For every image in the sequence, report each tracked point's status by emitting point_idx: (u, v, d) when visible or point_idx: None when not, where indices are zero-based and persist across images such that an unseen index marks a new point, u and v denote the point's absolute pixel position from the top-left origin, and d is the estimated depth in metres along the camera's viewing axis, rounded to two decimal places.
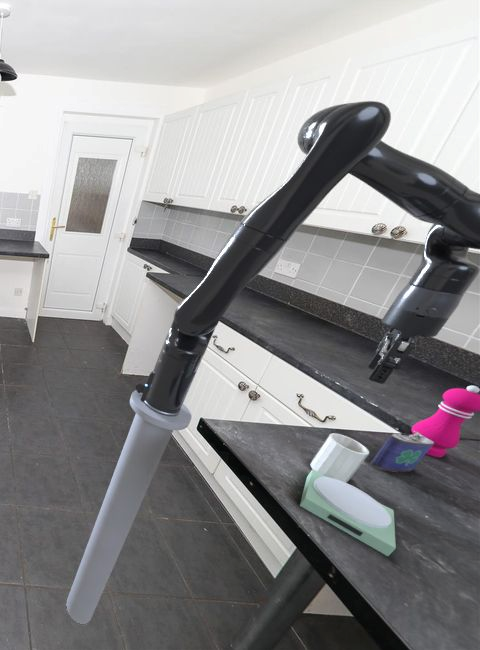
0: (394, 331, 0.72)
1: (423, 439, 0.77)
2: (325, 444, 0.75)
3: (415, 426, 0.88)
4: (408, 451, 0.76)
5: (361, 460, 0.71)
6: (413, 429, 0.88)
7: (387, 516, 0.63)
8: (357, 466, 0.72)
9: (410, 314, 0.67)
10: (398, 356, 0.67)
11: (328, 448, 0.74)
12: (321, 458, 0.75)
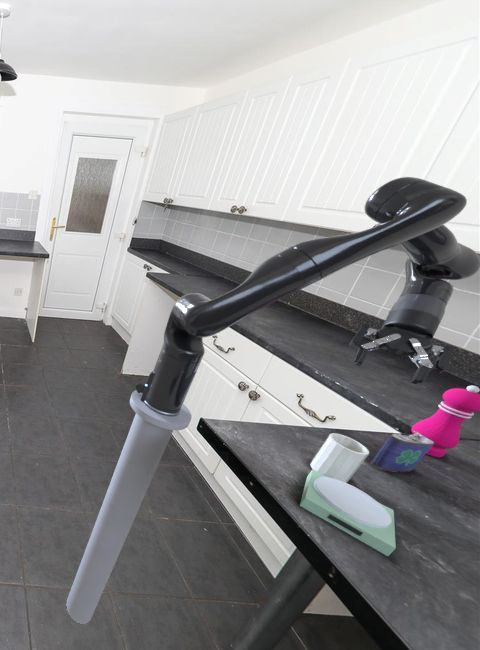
0: (397, 333, 0.77)
1: (423, 439, 0.77)
2: (325, 444, 0.75)
3: (415, 426, 0.88)
4: (408, 451, 0.76)
5: (361, 460, 0.71)
6: (413, 429, 0.88)
7: (387, 516, 0.63)
8: (357, 466, 0.72)
9: (439, 323, 0.75)
10: None
11: (328, 448, 0.74)
12: (321, 458, 0.75)
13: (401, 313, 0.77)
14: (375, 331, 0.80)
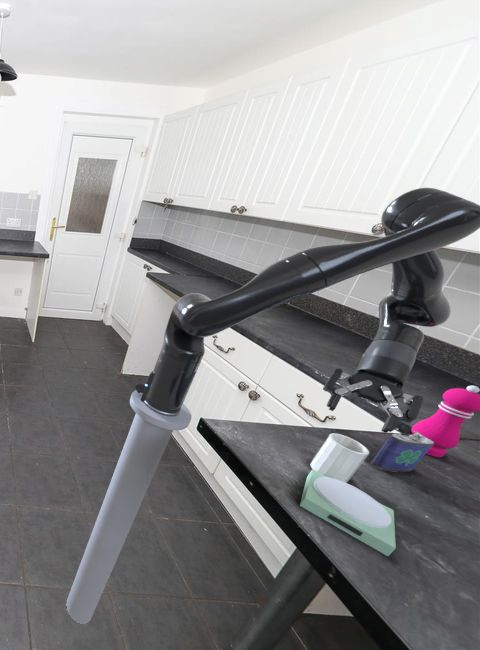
0: (369, 379, 0.78)
1: (423, 439, 0.77)
2: (325, 444, 0.75)
3: (415, 426, 0.88)
4: (408, 451, 0.76)
5: (361, 460, 0.71)
6: (413, 429, 0.88)
7: (387, 516, 0.63)
8: (357, 466, 0.72)
9: (409, 371, 0.75)
10: None
11: (328, 448, 0.74)
12: (321, 458, 0.75)
13: (373, 359, 0.78)
14: (348, 376, 0.80)
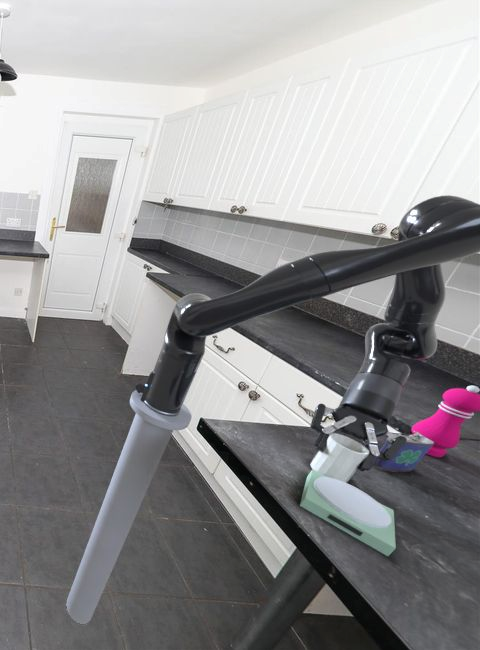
0: (353, 414, 0.75)
1: (423, 439, 0.77)
2: (325, 444, 0.75)
3: (415, 426, 0.88)
4: (408, 451, 0.76)
5: (361, 460, 0.71)
6: (413, 429, 0.88)
7: (387, 516, 0.63)
8: (357, 466, 0.72)
9: (394, 407, 0.73)
10: None
11: (328, 448, 0.74)
12: (321, 458, 0.75)
13: (357, 394, 0.75)
14: (332, 410, 0.78)
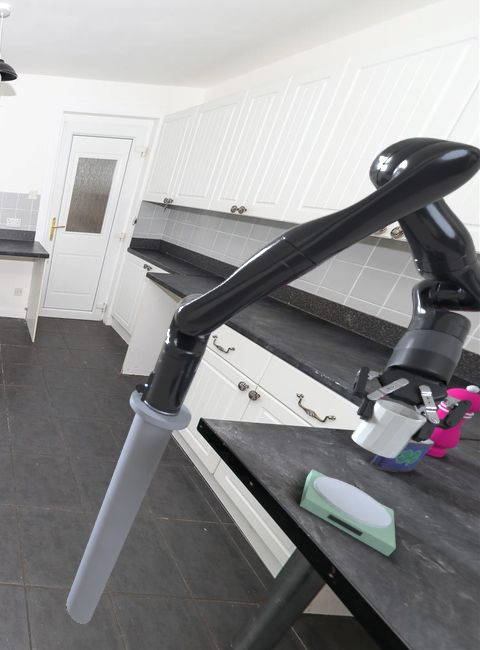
0: (404, 377, 0.64)
1: None
2: (371, 412, 0.64)
3: None
4: (408, 451, 0.76)
5: (417, 429, 0.60)
6: None
7: (387, 516, 0.63)
8: (411, 436, 0.61)
9: (454, 368, 0.62)
10: None
11: (375, 416, 0.63)
12: (366, 428, 0.65)
13: (409, 353, 0.64)
14: (377, 373, 0.67)
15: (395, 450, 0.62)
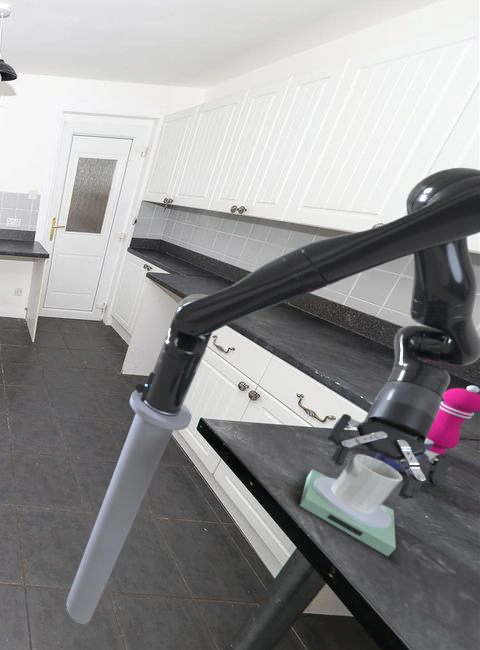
0: (383, 430, 0.65)
1: None
2: (349, 467, 0.65)
3: None
4: None
5: (393, 487, 0.61)
6: None
7: (387, 516, 0.63)
8: (388, 494, 0.61)
9: (432, 423, 0.62)
10: None
11: (353, 472, 0.64)
12: (344, 482, 0.65)
13: (388, 406, 0.65)
14: (357, 424, 0.67)
15: (372, 507, 0.63)
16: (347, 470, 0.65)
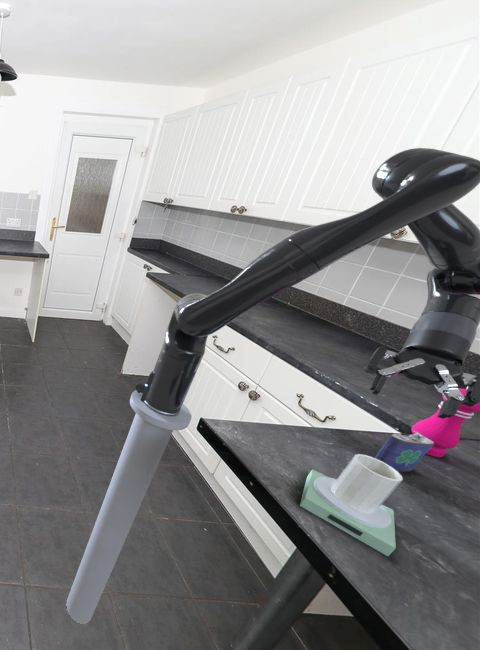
0: (421, 357, 0.67)
1: (423, 439, 0.77)
2: (349, 467, 0.65)
3: (415, 426, 0.88)
4: (408, 451, 0.76)
5: (393, 487, 0.61)
6: (413, 429, 0.88)
7: (387, 516, 0.63)
8: (388, 494, 0.61)
9: (469, 347, 0.64)
10: None
11: (353, 472, 0.64)
12: (344, 482, 0.65)
13: (425, 334, 0.67)
14: (394, 354, 0.69)
15: (372, 507, 0.63)
16: (347, 470, 0.65)
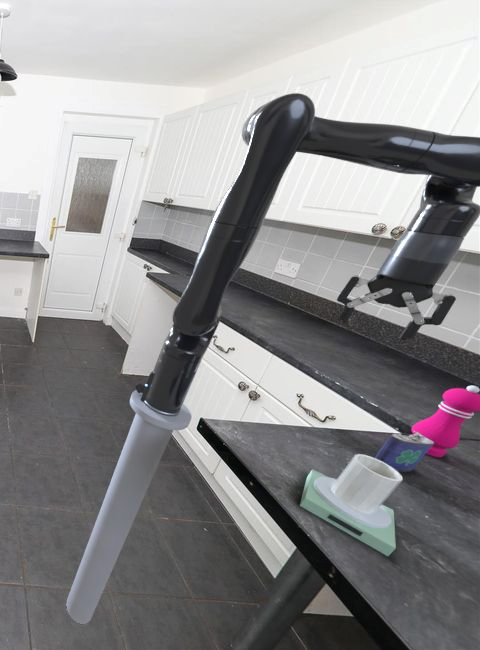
0: (391, 284, 0.67)
1: (423, 439, 0.77)
2: (349, 467, 0.65)
3: (415, 426, 0.88)
4: (408, 451, 0.76)
5: (393, 487, 0.61)
6: (413, 429, 0.88)
7: (387, 516, 0.63)
8: (388, 494, 0.61)
9: (446, 266, 0.62)
10: None
11: (353, 472, 0.64)
12: (344, 482, 0.65)
13: (396, 263, 0.65)
14: (366, 282, 0.70)
15: (372, 507, 0.63)
16: (347, 470, 0.65)
